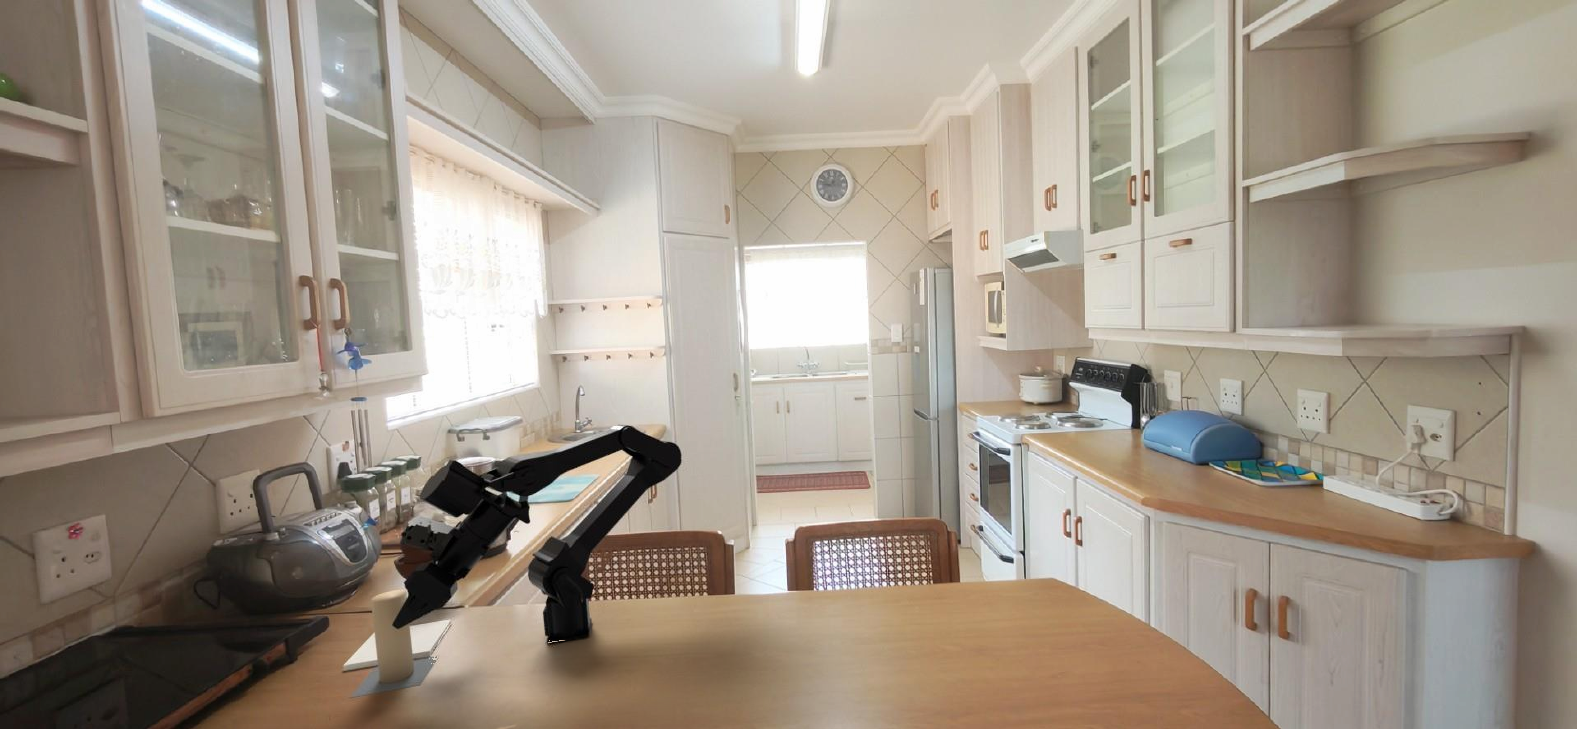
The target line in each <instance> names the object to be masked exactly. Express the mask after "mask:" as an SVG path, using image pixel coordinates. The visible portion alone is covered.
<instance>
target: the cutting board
mask: <svg viewBox="0 0 1577 729" xmlns="http://www.w3.org/2000/svg"><path fill="white" fill-rule="evenodd" d="M451 622H452V623H453V620H452V619H451V618H450V619H445V620H439V621H432V622H428V623H420V624H415V625H414V624H413V625H410V633H411V643H412V653H413V660H416V659H422V658H428V657H431V656H432V654H433V653H434V651H435V650H436V648H437V647H438V645H439V644H438V642H439V640H440V639H441V637H442V635H443V633H444V632H445V630H446V629H447V627H448V626H449V625H450V624H451ZM439 643H440V642H439ZM437 644H438V645H437ZM436 646H437V647H436ZM435 647H436V648H435ZM434 649H435V650H434ZM433 650H434V651H433ZM432 652H433V653H432ZM430 655H431V656H430ZM415 658H416V659H415ZM376 666H378V661H377V651H376V642H375V632H373V633H372V634H371V636H370V637H368V638H367V640H366V641H364V643H363V644H362V645H361V646H360V647H359V648H358V649H357V651H355V652H354V653H353V654H352V655H351V657H350V658H349V659H348V660H347V661H346V662H345V663H344V664H343V671H344V672H345V671H350V670H351V671H352V670H357V669H363V668H368V667H369V668H370V667H376Z"/></svg>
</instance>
